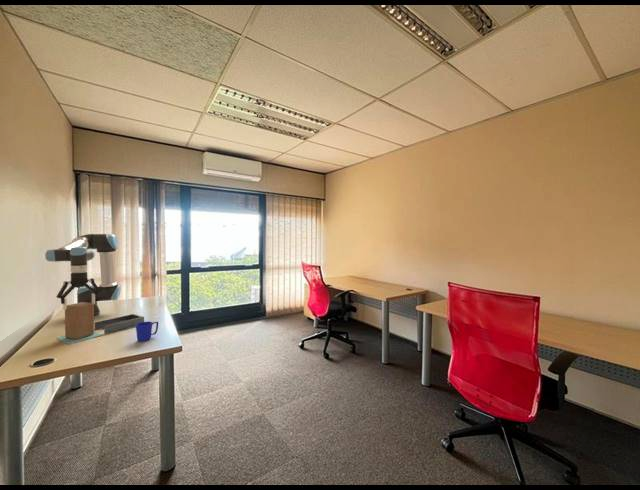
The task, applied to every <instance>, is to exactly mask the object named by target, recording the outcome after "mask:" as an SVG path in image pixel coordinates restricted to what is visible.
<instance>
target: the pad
mask: <svg viewBox="0 0 640 490" xmlns="http://www.w3.org/2000/svg"><path fill="white" fill-rule="evenodd" d="M99 337H103V334H101V333H99V332H97V331H94V334H92V335H89V336H86V337H83V338H80V339H70V338H66V337H65V335H63V336H62V335H61V336H59V337H56V339H57V340H58V341H61V342H63V343H65V344H67V345H72V344H77V343H79V342H83V341H87V340H92V339H95V338H99Z"/></svg>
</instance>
